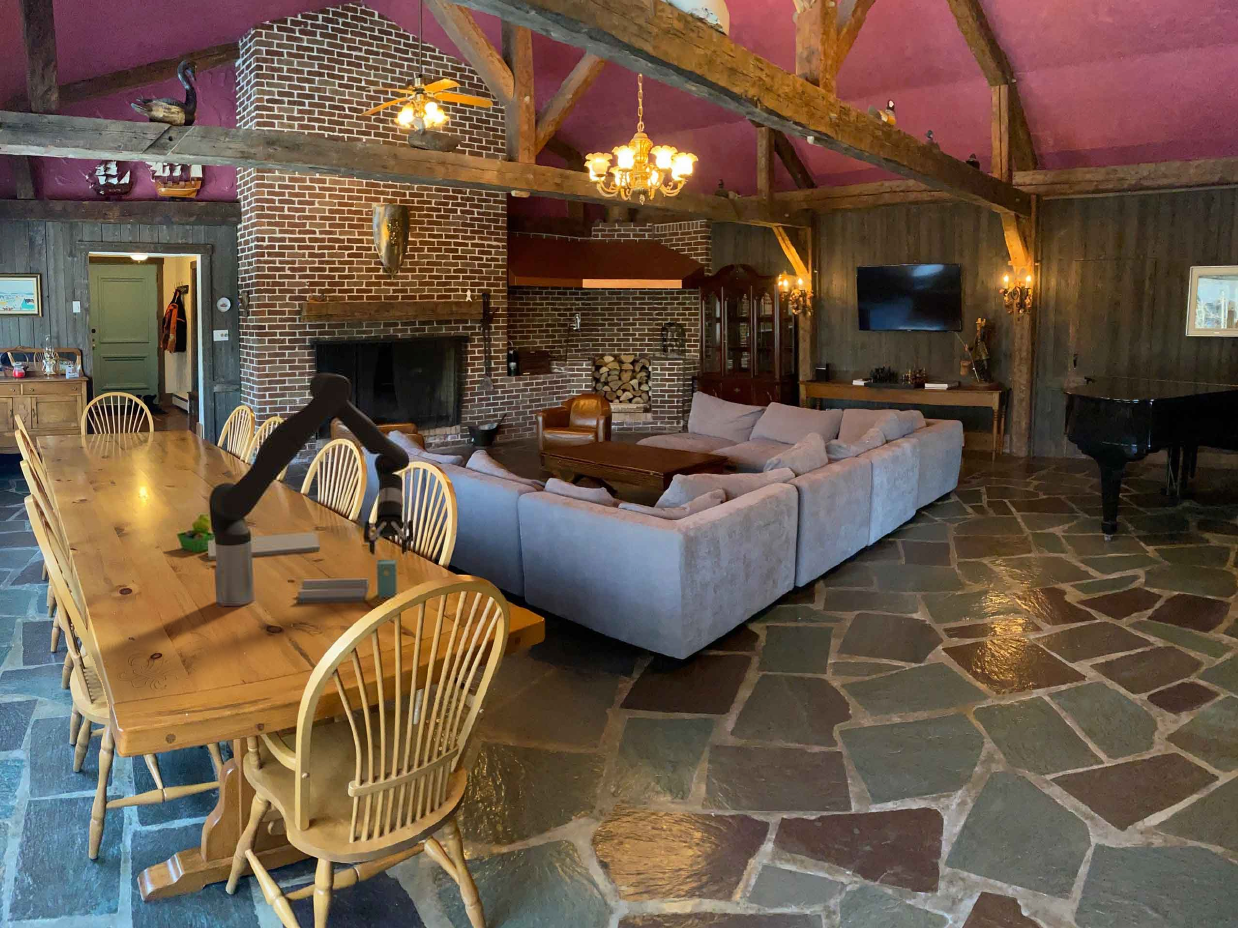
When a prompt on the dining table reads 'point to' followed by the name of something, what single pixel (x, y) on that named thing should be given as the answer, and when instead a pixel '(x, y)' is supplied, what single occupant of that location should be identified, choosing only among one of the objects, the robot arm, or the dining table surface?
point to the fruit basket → (197, 535)
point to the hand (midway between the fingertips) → (388, 553)
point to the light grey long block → (277, 544)
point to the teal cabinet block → (387, 578)
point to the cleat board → (333, 590)
